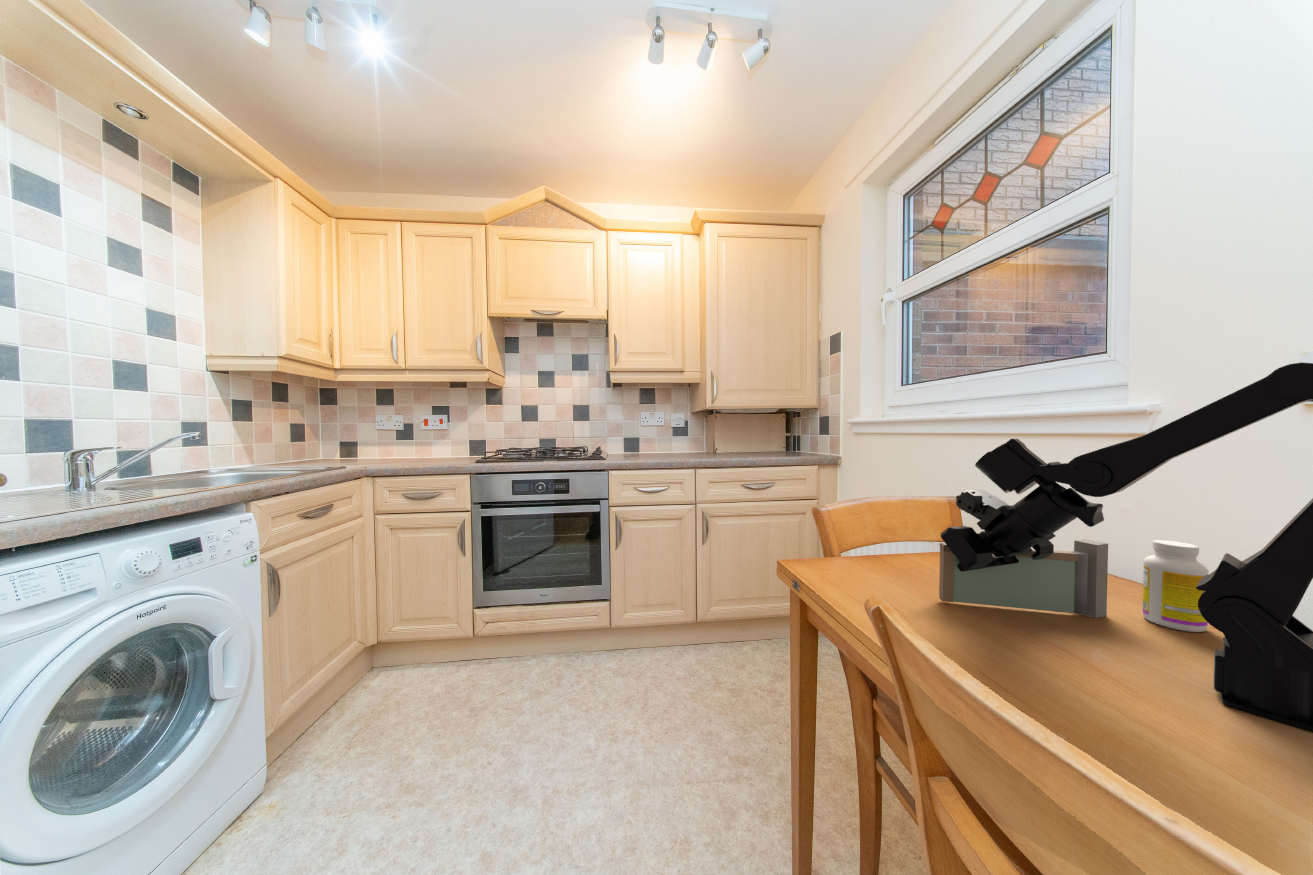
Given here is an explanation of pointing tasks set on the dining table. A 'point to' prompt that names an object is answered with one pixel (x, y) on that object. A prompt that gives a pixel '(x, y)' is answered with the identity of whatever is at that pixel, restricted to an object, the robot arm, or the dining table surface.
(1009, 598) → the gate
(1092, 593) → the gatepost
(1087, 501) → the robot arm
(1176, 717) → the dining table surface
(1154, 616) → the supplement bottle
